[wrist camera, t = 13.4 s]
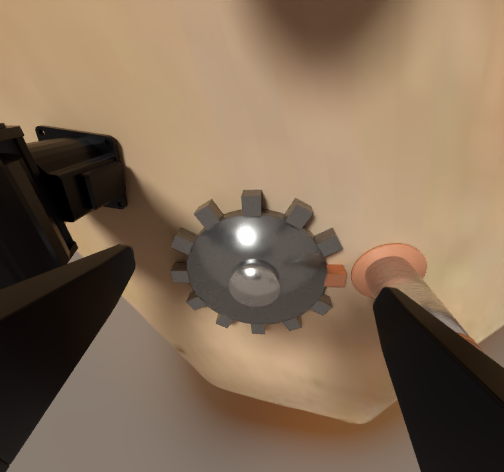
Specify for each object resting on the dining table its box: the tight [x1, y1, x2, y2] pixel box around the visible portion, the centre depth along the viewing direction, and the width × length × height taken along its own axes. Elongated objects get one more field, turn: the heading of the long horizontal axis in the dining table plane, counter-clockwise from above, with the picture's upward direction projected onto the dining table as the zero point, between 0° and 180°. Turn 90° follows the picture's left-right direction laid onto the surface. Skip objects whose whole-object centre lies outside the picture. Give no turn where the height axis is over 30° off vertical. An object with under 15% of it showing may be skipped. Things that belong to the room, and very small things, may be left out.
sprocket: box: [170, 190, 347, 334], centre depth 23 cm, size 18×18×3 cm
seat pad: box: [351, 243, 427, 298], centre depth 23 cm, size 7×7×1 cm
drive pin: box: [365, 256, 484, 353], centre depth 19 cm, size 4×4×10 cm
